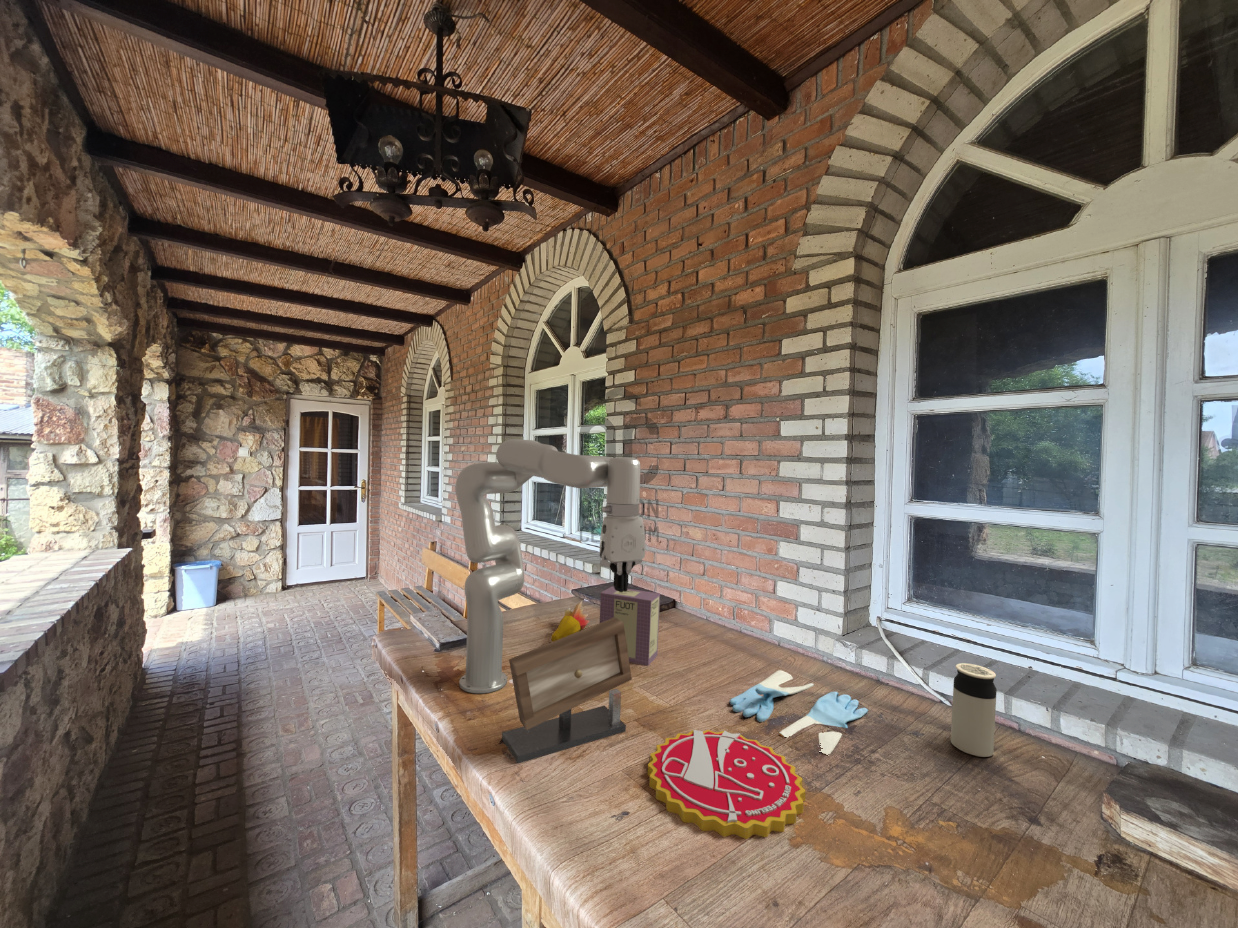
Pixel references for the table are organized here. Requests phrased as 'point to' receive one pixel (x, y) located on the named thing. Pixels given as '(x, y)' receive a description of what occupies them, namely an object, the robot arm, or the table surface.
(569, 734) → the pivot stand
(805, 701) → the table surface
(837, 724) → the rubber gloves
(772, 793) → the decorative sign
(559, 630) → the torch
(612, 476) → the robot arm
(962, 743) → the travel mug
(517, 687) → the wooden drawer
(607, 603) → the box
